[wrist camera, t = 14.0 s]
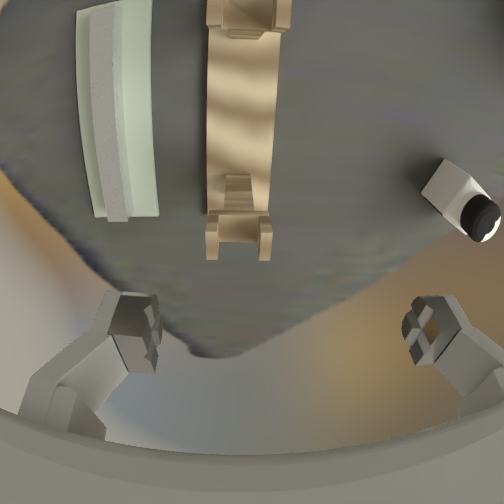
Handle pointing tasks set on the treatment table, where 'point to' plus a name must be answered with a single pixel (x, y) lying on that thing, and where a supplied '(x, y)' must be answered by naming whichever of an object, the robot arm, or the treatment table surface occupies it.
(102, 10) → the aluminium rail
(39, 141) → the treatment table surface
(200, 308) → the treatment table surface
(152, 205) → the sage mat
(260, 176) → the hook rack
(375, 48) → the treatment table surface
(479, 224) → the medicine bottle
